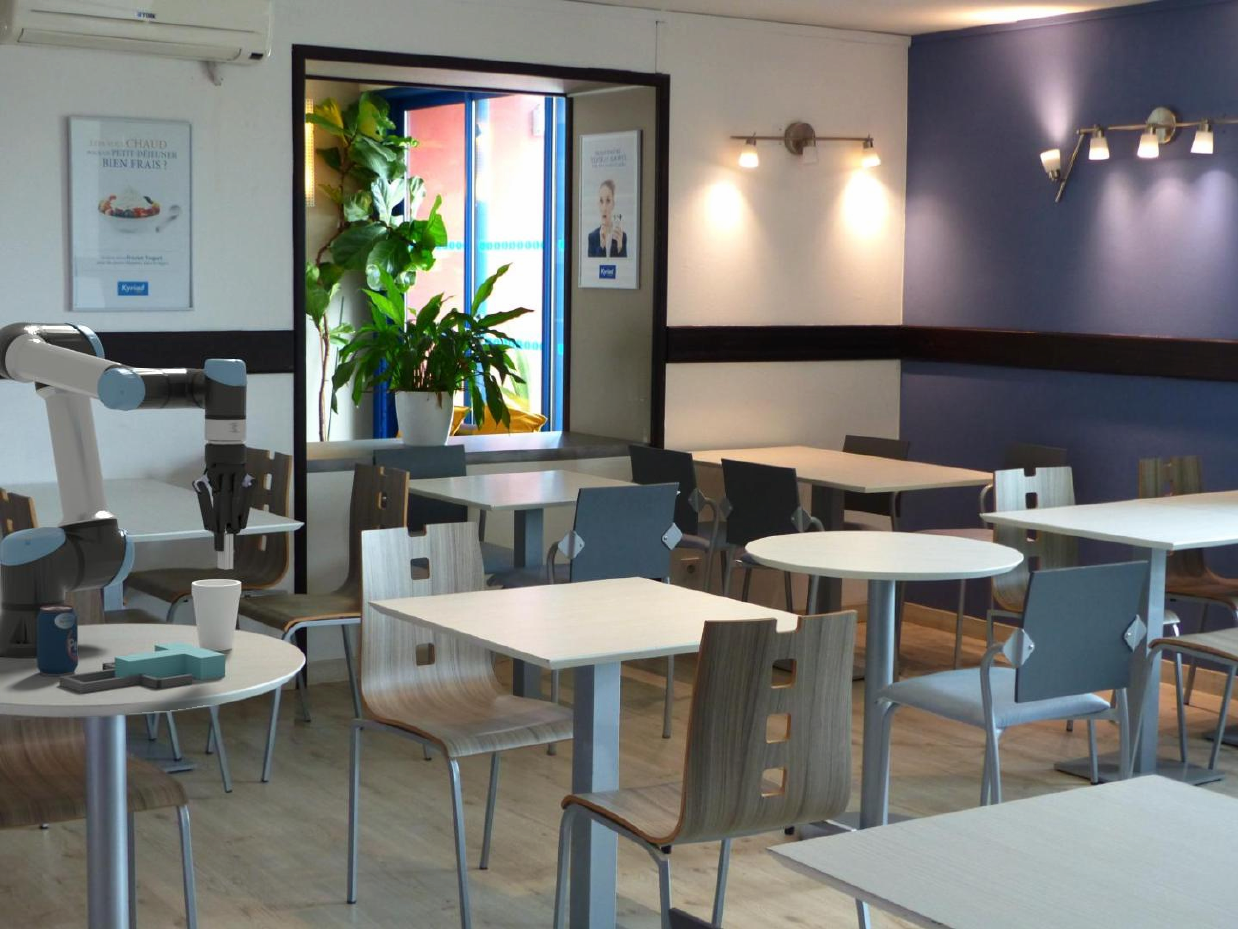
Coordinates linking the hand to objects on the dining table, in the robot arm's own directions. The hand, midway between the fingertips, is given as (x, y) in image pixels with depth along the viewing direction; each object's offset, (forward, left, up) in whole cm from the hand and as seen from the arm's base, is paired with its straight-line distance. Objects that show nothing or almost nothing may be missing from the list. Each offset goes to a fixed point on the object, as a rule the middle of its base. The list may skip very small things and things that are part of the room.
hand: (225, 568), depth 288 cm
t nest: (0, -21, -18) cm, 28 cm away
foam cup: (-16, +8, -19) cm, 26 cm away
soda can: (-14, -26, -19) cm, 35 cm away
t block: (0, -13, -19) cm, 23 cm away
